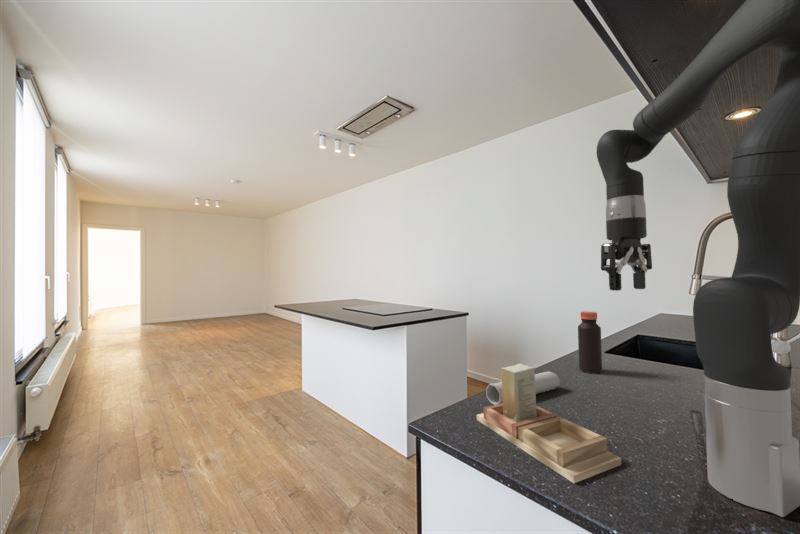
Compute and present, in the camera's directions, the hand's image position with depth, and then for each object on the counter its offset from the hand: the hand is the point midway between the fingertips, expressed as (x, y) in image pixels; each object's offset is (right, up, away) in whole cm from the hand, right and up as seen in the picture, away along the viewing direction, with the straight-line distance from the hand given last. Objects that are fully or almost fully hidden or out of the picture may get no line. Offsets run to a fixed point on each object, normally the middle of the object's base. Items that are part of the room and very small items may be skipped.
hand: (627, 289), depth 75 cm
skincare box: (-25, -30, -1) cm, 39 cm away
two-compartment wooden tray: (-23, -31, -6) cm, 39 cm away
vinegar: (+13, -31, +38) cm, 50 cm away
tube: (-15, -30, +16) cm, 37 cm away
